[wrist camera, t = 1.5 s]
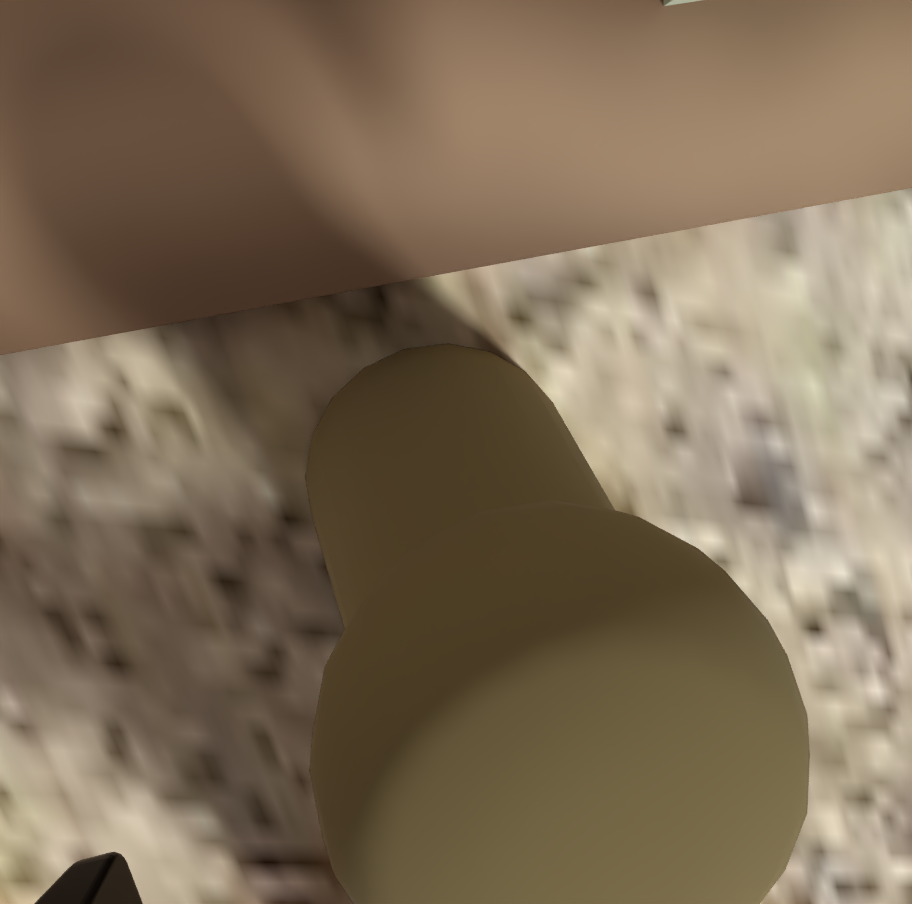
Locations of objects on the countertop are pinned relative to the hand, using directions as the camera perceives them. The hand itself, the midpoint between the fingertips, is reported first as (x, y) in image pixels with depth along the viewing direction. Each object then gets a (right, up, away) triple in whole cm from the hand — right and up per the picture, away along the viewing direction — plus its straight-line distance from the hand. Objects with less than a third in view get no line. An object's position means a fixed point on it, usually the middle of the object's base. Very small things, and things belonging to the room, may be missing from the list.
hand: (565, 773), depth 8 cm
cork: (-2, +3, +9) cm, 10 cm away
